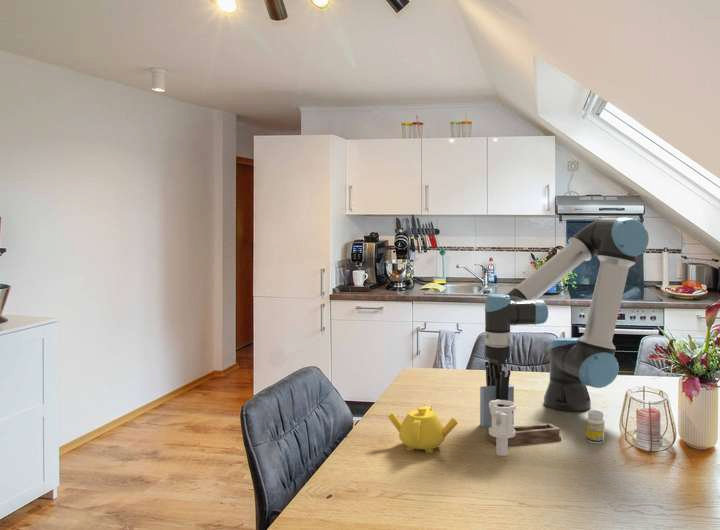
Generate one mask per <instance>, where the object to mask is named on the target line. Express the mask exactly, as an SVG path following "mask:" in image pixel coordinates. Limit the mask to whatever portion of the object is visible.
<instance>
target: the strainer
mask: <svg viewBox="0 0 720 530" xmlns="http://www.w3.org/2000/svg"><path fill="white" fill-rule="evenodd" d="M497 404H504V405H510V406H511V407H498V406H497ZM489 408H490V414H492V427H488V429H489V434H490V435H491V436H493V437H496V445H495V448H496V449H495V454H496V455H498V456H501V457H502V456H503V457H504V456H508V455H509V454H508V453H509V451H508V449H509V448H508V447H509V445H508V438H512V437H514V436H515V432H516V431H515V429H514V428H513V427H514V426H513V413H512V411H513V410H514V411H516V408H517V404H516V403H515V401H514V402H511V401H507V400H498V399H497V400H492V401H490V402H489Z"/></svg>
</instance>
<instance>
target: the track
mask: <svg viewBox="0 0 720 530" xmlns="http://www.w3.org/2000/svg"><path fill="white" fill-rule="evenodd" d="M513 428H514V429H515V431H516V432H515V436H514V437H512V438H508V446H512V445H515V446H516V445H524V444H534V443H535V444H536V443H545V442H555V441H556V442H557V441H562V436H561V435H560V433H561V432H560V431H561V429H560V428H559V427H557V426H556V425H554V424H552V423H539V424H528V425H518V426H517V425H516V426H513ZM484 437H485V438H486V439H487V440H489V442H491V443H492V444H493V445H494V446H496V437H493V436H491V435H490V434H489V428H486V429H485V433H484Z"/></svg>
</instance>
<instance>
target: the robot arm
mask: <svg viewBox="0 0 720 530" xmlns="http://www.w3.org/2000/svg"><path fill="white" fill-rule="evenodd" d="M649 239H650V238H649V232H648V229H647V228H646V227H645V225H644V224H643V223H642V222H641V221H640V220H638V219H635V218H630V217H624V216H623V217H614V218H613V217H603V218H602V217H601V218H599V219H596V220H594V221H592V222H591V223H589V224H587V225H586V226H584V227H583V228H581V229H580V230H579V231H578V232H577V233H575V234H573V236H571V237H570V238H569V240H568V244H566V245H565V246H564V247H563V248H562V249H561V250H559V251H558V252H557V253H555V255H553V256H552V257H551V258H549V260H547V261H546V262H544V263H543V264H542V265H541V266H539V268H537V269H536V270H535V271H534V272H532V273H531V274H530V275H529V276H528V277H526V278H525V279H524V280H522V282H520V283H519V284H518V285H516V286H515V287H514V288H512V289H511V290H510V291H509V292H508V293H500V294H498V293H493V294H492V293H491V294H488V295H487V296H486V298H485V303H484V315H485V316H484V321H485V322H484V323H485V327H484V331H485V332H484V335H483V337H484V343H485V345H484V356H485V358H487V359H488V361H485V362H484V367H485V383H486V385H485V386H496V399H495V400H497V399H498V400H507V401H508V390H509V385H510V376H511V373H512V372H511V370H509V369H507V364H506V360H508V359H510V357H511V347H510V344H511V326H518V325H519V326H521V325H522V326H523V325H524V326H526V325H535V326H536V325H540V324H544V323H546V322H547V321H548V317H549V307H548V305H547V303H546V302H545V301H544V300H543V299H539V298H540V297H542V295H544V294H545V293H546V292H548V291H550V290H551V288H553V287H554V286H555V285H556V284H558V283H559V282H560V281H561V280H563V278H565V277H566V276H567V275H569V274H570V273H571V272H572V271H573V270H575V269H576V268H578V266H580V265H581V264H583V262H584V261H585V262H589V261H591V260H592V259H593V258H594V257H596V258H597V259H598V261H599V267H598V272H597V276H596V280H595V281H596V282H595V284H594V289H593V290H594V291H593V293H592V298H591V302H590V305H589V311H588V315H587V320H586V323H585V328H584V332H583V335H581V336H579V337H558V338H552V339H551V340H550V345H549V382H548V385H547V388H546V390H545V394H544V396H543V403H544V405H545V406H546V407H549V408H551V409H554V410H557V411H558V410H559V411H566V412H582V411H588V410H589V409H590V408H591V406H592V404H591V403H592V402H591V396H590V394H589V393H590V392H589V389H588V387H591V388H593V389H602V388H605V387H607V386H608V385H611V384H612V383H613V382H614V381H615V380H616V378H617V377H618V374H619V371H620V369H619V368H620V366H619V362H618V360H617V358H616V357H615V352H616V346H615V345H614V343H613V340H614V339H613V338H614V335H615V331H616V325H617V321H618V317H619V312H620V307H621V304H622V300H623V295H624V293H625V292H624V291H625V287H626V282H627V278H628V274H629V269H630V268H631V267H633V266H634V265H636V262H637V258H638V256H639V255H641V254H642V253H644V252H645V251H646V249H647V247H648V245H649ZM497 406H498V407H504V404H497Z"/></svg>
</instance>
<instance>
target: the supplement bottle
mask: <svg viewBox="0 0 720 530" xmlns="http://www.w3.org/2000/svg"><path fill="white" fill-rule="evenodd" d="M587 416H588V418H586V441H587V442H589V443H591V444H596V445H598V444H604V442H605V420H604V412H603V411H600V410H595V409H593V410H591V409H590V410H589V411H588V412H587Z"/></svg>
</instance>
